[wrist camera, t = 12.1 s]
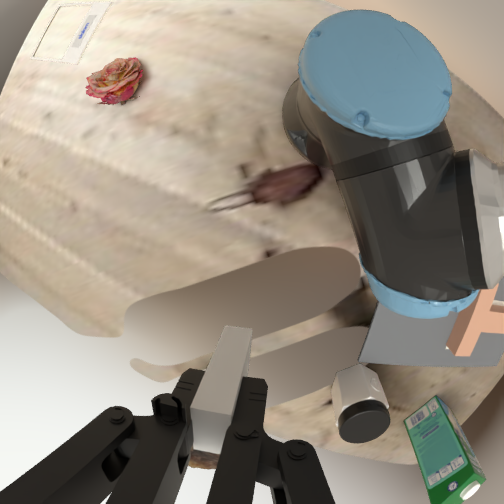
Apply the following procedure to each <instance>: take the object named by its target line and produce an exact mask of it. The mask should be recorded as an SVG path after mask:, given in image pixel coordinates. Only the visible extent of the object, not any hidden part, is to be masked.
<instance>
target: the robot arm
mask: <svg viewBox="0 0 504 504" xmlns="http://www.w3.org/2000/svg"><path fill="white" fill-rule="evenodd" d="M298 66H299V69H298V73H299V78H298V79H297V80H296V81H295V82H294V83H293V84H292V86H291V87H290V88H289V90H288V92H287V94H286V97H285V100H284V104H283V124H284V129H285V132H286V134H287V137H288V139H289V141H290V142H291V144H292V145H293V147H294V148H295V149H296V150H297V152H298V153H299V154H300V155H302V156H303V157H304V158H305V159H307V160H308V161H310V162H311V163H313V164H315V165H317V166H320V167H323V168H326V169H332V170H333V172H334V175H335V178H336V182H337V184H338V187H339V190H340V193H341V195H342V198H343V201H344V204H345V207H346V210H347V213H348V216H349V219H350V222H351V225H352V228H353V231H354V234H355V238H356V241H357V244H358V247H359V251H360V253H359V259H360V263H361V266H362V268H363V269H364V272H365V273H366V275H367V278H368V281H369V284H370V287H371V290H372V292H373V294H374V295H375V297H376V298H377V300H378V301H379V302H380V303H381V304H382V305H383V306H385V307H386V308H388V309H389V310H391V311H393V312H395V313H397V314H400V315H404V316H407V317H412V318H419V319H434V318H441V317H446V316H448V314H449V311H453V312H456V313H457V312H460V311H462V310H463V309H465V308H467V307H468V306H469V305H470V304H471V303H472V302H473V301H474V300H475V298H476V297H477V295H478V292H479V290H481V289H493V288H494V287H495V286H496V285H497V284H498V282H499V281H500V280H501V279H502V278H503V276H504V162H500V163H497V162H493V161H491V160H490V159H489V158H487V157H486V156H485V155H483V154H482V153H480V152H479V151H478V150H476V149H468V150H463V151H459V152H455V150H454V147H453V144H452V141H451V138H450V135H449V132H448V129H447V126H446V124H445V121H444V117H445V116H446V113H447V111H448V109H449V106H450V105H449V98H450V96H451V95H452V84H451V79H450V75H449V71H448V69H447V66H446V64H445V62H444V60H443V59H442V56H441V55H440V53H439V52H438V50H437V49H436V48H435V46H434V45H433V44H432V43H431V42H430V41H429V40H428V39H427V38H426V37H425V36H424V35H423V34H422V33H421V32H419V31H418V30H417V29H415V28H414V27H413V26H411V25H409V24H408V23H406V22H400V21H397V20H396V19H394V18H393V17H391V16H390V15H388V14H385V13H382V12H377V11H372V10H349V11H343V12H339V13H336V14H334V15H331V16H329V17H327V18H326V19H324V20H322V21H321V22H320V23H319V24H317V25H316V26H315V27H314V29H313V30H312V31H311V32H310V34H309V36H308V37H307V39H306V42H305V45H304V48H303V49H302V50H301V52H300V56H299V63H298ZM251 340H252V329H250V328H242V327H234V326H227V325H225V327H224V329H223V331H222V334H221V336H220V339H219V341H218V343H217V346H216V348H215V350H214V353H213V355H212V357H211V360H210V362H209V364H208V367H207V369H206V371H202V370H197V369H191V368H189V369H188V370H187V371H185V372H184V373H183V374H182V375H181V377H180V379H179V382H178V383H177V385H176V387H175V388H174V390H173V392H172V394H169V393H165V394H160V395H158V396H156V397H154V398H153V400H151V402H152V407H153V412H154V415H152V416H133V414H132V412H131V411H130V410H129V409H127V408H125V407H121V406H114V407H110V408H108V409H106V410H105V411H103V412H102V413H101V414H100V415H99V416H97V417H96V418H95V419H94V420H92V421H91V422H90V423H89V424H88V425H86V426H85V427H84V428H82V429H81V430H80V431H79V432H77V433H76V434H75V435H74V436H72V437H71V438H70V439H69V440H67V441H66V442H65V443H64V444H62V445H61V446H60V447H59V448H57V449H56V450H55V451H53V452H52V453H51V454H50V455H48V456H47V457H46V458H45V459H43V460H42V461H40V462H39V463H38V464H37V465H35V466H34V467H33V468H31V469H30V470H29V471H27V472H26V473H25V474H24V475H22V476H21V477H19V478H18V479H17V480H16V481H14V482H13V483H12V484H10V485H9V486H7V487H6V488H5V489H3V490H2V491H0V504H100V503H101V502H102V501H103V500H104V499H105V498H106V497H107V496H108V495H109V494H110V493H111V492H112V493H111V495H110V497H109V499H108V500H107V502H106V504H174V503H175V500H176V497H177V495H178V492H179V489H180V486H181V483H182V481H183V478H184V475H185V472H186V469H187V466H188V464H189V461H190V456H191V454H190V450H191V447H192V445H193V448H194V449H196V450H201V451H205V452H211V453H216V454H220V456H219V460H218V463H217V467H216V471H215V474H214V478H213V481H212V485H211V489H210V492H209V496H208V499H207V503H206V504H252V500H253V494H254V488H255V481H256V482H259V483H261V484H264V485H267V486H269V487H270V489H271V494H272V499H273V504H335V501H334V499H333V496H332V494H331V491H330V488H329V486H328V483H327V480H326V478H325V475H324V472H323V470H322V467H321V464H320V462H319V459H318V456H317V454H316V451H315V449H314V448H313V446H312V445H311V444H309V443H308V442H306V441H303V440H290V441H287V442H285V443H282V442H279V441H276V440H274V439H272V438H271V437H269V436H268V435H267V434H266V433H265V431H264V428H263V422H264V414H265V406H266V398H267V390H268V386H267V384H266V382H265V380H264V379H260V378H251V377H247V375H248V370H249V362H250V351H251Z"/></svg>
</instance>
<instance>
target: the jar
mask: <svg viewBox="0 0 504 504" xmlns="http://www.w3.org/2000/svg"><path fill="white" fill-rule="evenodd" d="M331 395H332V401H333V408H334V415H335V423H336V426H338V427H339V434H340V436H341V438H342V439H343V440H345V441H347V442H350V443H364V442H368V441H371V440H373V439H376V438H377V437H379V436H380V435H382V434H383V433H384V432H385V431H386V430H387V428H388V427H389V425H390V415H389V412H388V408H389V405H388V402H387V399H386V396H385V394H384V391H383V388H382V386H381V383H380V380H379V378H378V375H377V373H375V372H374V371H372V370H371V369H369V368H367V367H366V366H364V365H363V364H361V363H359V364H357V365H354V366H352V367H349V368H347V369H344V370H341V371H339V372H337V373H336V376H335V379H334V382H333V385H332V389H331Z"/></svg>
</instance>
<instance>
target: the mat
mask: <svg viewBox="0 0 504 504" xmlns="http://www.w3.org/2000/svg"><path fill="white" fill-rule="evenodd" d="M498 283H499V286H498V289H497V292H496V295H495V297H494V300H493V303H492V305H498V306H504V276H503V278H502V279H501V280H500V281H499V282H498ZM458 314H459V312H457V313H456V312H453V311H449V314H448V316H446V317H441V318H434V319H419V318H412V317H407V316H404V315H400V314H397V313H395V312H393V311H391V310H389V309H388V308H386V307H385V306H383V305H382V304H381V303H380V302H379V301H378V302H377V306H376V309H375V312H374V315H373V318H372V321H371V324H370V327H369V330H368V333H367V336H366V338H365V341H364V344H363V347H362V349H361V352H360V355H359V357H358V362H366V363H378V364H391V365H408V366H434V367H482V366H497V364H498V362H499V360H500V358H501V356H502V354H503V352H504V334H501V333H486V332H481V333H480V335H479V338H478V340H477V342H476V344H475V347H474V349H473V351H472V353H471V355H470V356H454V355H453V353H452V352H451V351H450V349H449V348H448V347H447V346H446V343H447V341H448V339H449V336H450V334H451V332H452V329H453V327H454V324H455V322H456V319H457V317H458Z"/></svg>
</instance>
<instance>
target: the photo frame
mask: <svg viewBox="0 0 504 504" xmlns="http://www.w3.org/2000/svg"><path fill="white" fill-rule="evenodd" d="M112 3H113V2H81V3H68V4H59V6H58V8H57V9H56V11H55V13H54V14H53V16H52V18H51V19H50V21H49V23H48V25H47V27H46V28H45V30H44V32H43V34H42V36H41V38H40V40H39V42H38V44H37V46H36V48H35V50H34V52H33V54H32V56H31V60H41V61H51V62H59V63H67V64H74V65H78V64H79V62H80V60H81V58H82V56H83V54H84V52H85V50H86V48H87V46H88V44H89V42H90V41H91V39H92V37H93V35H94V33H95V31H96V30H97V28H98V26H99V24H100V23H101V21H102V19H103V18H104V16H105V15H106V13H107V11H108V10H109V8H110V7H111V5H112ZM85 5H92V6H91V7H90V9H89V11H88V12H87V14H86V16H85V17H84V19H83V21H82V22H81V24H80V26H79V28H78V29H77V31H76V33H75V35H74V37H73V39H72V40H71V42H70V44H69V46H68V48H67V50H66V52H65V54H64V56H63V58H62V59H53V58H42V57H33V55H34V53H35V51H36V49H37V47H38V45H39V43H40V41H41V39H42V37H43V35H44V33H45V31H46V30H47V28H48V26H49V24H50V22H51V21H52V19H53V17H54V15H55V14H56V12H57V10H58V9H59V7H60V6H62V7H69V6H85Z"/></svg>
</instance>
